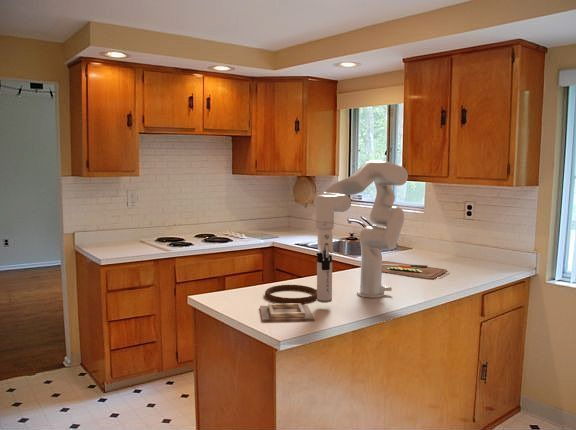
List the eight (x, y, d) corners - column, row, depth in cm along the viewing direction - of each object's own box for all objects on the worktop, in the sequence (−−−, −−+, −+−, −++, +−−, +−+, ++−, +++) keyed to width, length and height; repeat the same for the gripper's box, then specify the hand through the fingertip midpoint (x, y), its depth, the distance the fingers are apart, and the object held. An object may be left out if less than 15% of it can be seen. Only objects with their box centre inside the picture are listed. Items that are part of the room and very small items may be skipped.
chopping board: (358, 269, 294) (358, 264, 293) (379, 262, 316) (379, 257, 315) (436, 281, 268) (436, 276, 268) (453, 272, 290) (453, 267, 290)
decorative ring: (339, 294, 230) (277, 300, 219) (339, 300, 231) (277, 307, 219) (315, 281, 253) (257, 286, 241) (315, 287, 253) (257, 293, 241)
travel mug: (318, 297, 221) (318, 251, 219) (333, 299, 219) (333, 252, 217) (314, 302, 215) (314, 254, 213) (330, 303, 213) (330, 255, 211)
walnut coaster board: (307, 307, 218) (307, 301, 218) (314, 320, 201) (314, 314, 200) (259, 308, 216) (260, 302, 216) (262, 322, 198) (262, 315, 198)
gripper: (337, 228, 205) (337, 272, 207) (329, 221, 222) (329, 263, 224) (318, 228, 204) (318, 273, 207) (312, 222, 221) (312, 263, 224)
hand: (324, 267), depth 215 cm, fingers closed on travel mug, 6 cm apart
